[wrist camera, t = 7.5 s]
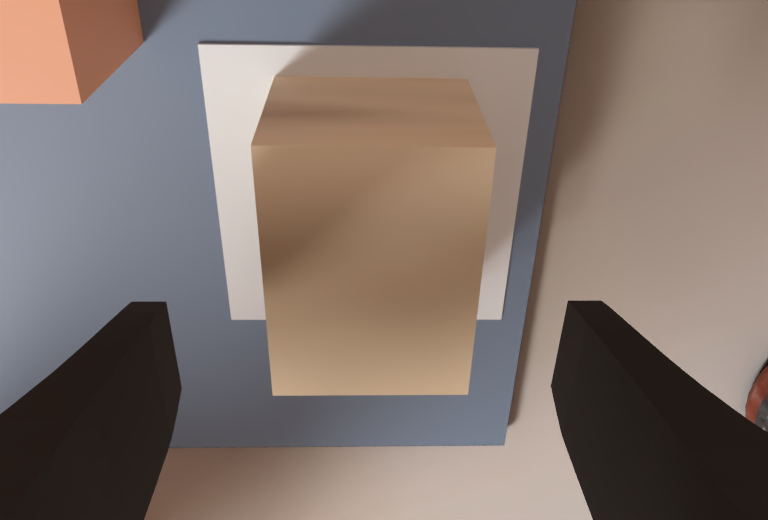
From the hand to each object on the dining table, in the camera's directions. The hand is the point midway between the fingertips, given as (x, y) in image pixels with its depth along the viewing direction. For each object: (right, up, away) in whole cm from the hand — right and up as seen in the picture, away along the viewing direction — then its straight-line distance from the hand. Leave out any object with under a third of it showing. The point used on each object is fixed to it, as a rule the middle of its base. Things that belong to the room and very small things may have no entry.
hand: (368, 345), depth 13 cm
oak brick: (0, +3, +5) cm, 6 cm away
